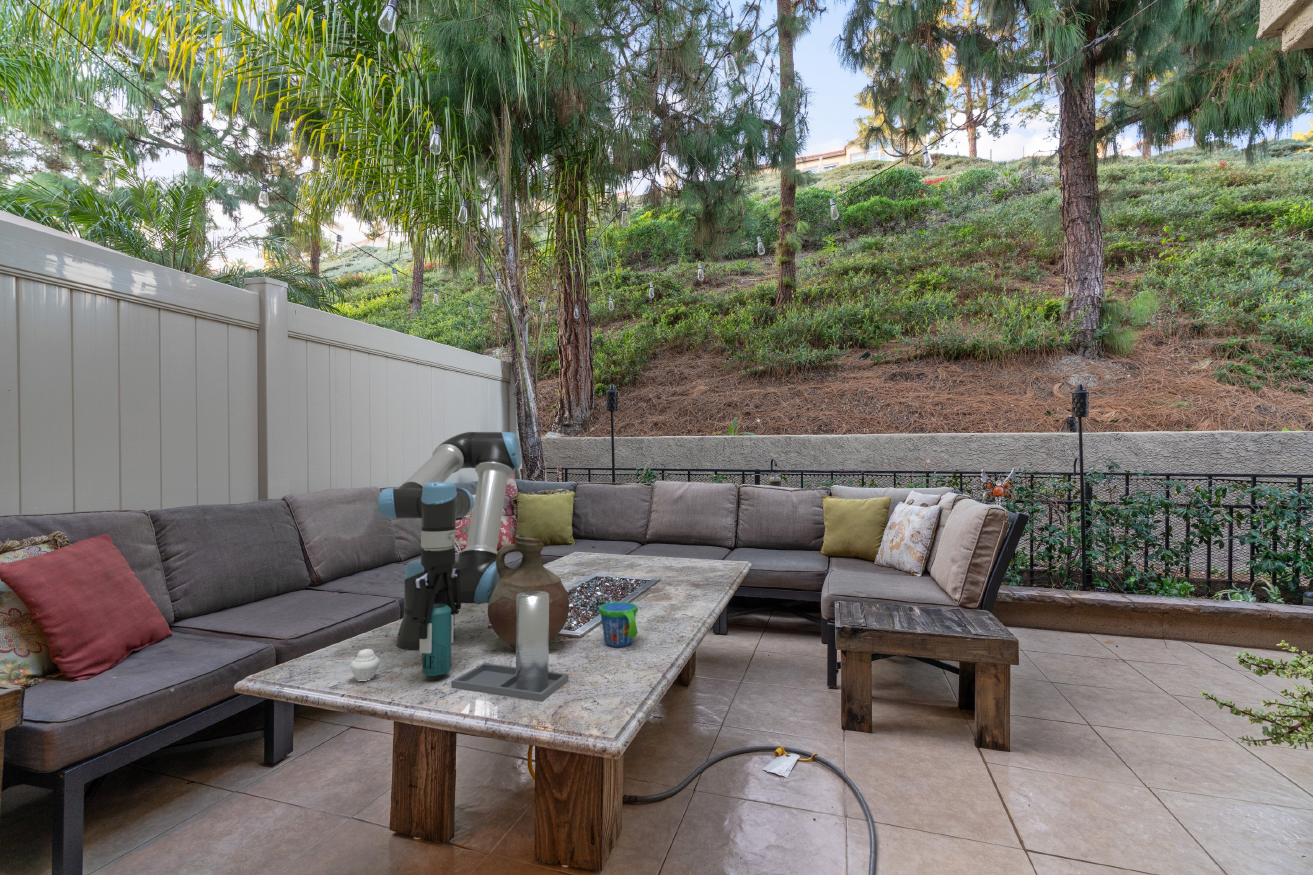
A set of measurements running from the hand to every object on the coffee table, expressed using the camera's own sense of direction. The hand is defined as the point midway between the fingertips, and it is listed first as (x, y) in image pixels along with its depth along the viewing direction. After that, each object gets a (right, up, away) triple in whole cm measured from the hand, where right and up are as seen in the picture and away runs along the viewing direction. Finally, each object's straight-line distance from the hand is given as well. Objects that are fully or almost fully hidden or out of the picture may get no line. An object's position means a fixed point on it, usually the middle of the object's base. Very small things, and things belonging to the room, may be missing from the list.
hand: (436, 646), depth 131 cm
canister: (+24, -6, -8) cm, 26 cm away
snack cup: (+41, -8, +24) cm, 48 cm away
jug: (+16, -8, +22) cm, 28 cm away
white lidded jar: (-16, -7, -1) cm, 18 cm away
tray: (+19, -7, -7) cm, 21 cm away
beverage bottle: (0, -7, 0) cm, 7 cm away
